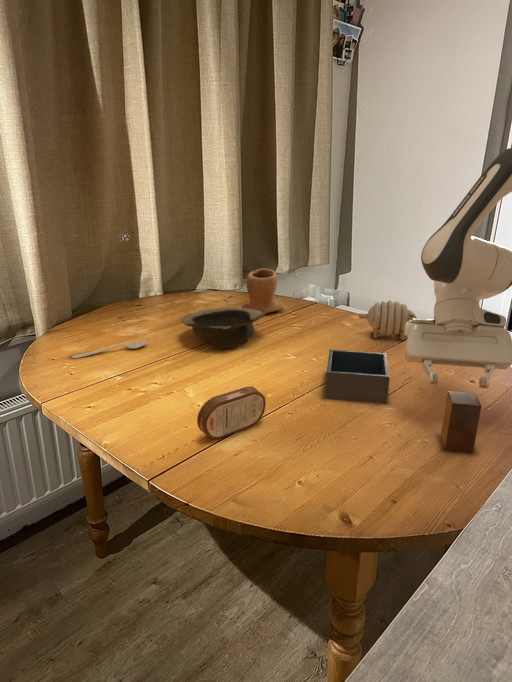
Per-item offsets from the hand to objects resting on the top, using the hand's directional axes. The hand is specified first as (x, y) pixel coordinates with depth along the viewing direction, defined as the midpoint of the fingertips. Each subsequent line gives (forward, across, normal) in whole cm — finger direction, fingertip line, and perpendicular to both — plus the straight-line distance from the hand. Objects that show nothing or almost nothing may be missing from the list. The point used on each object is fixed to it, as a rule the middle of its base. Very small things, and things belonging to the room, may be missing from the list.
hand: (458, 385), depth 97 cm
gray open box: (-4, -19, +18) cm, 27 cm away
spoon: (-11, -86, +25) cm, 90 cm away
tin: (+13, -43, +1) cm, 45 cm away
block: (+11, 0, +3) cm, 11 cm away
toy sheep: (-30, -10, +44) cm, 55 cm away
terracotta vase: (-41, -50, +56) cm, 86 cm away
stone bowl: (-22, -58, +37) cm, 72 cm away
